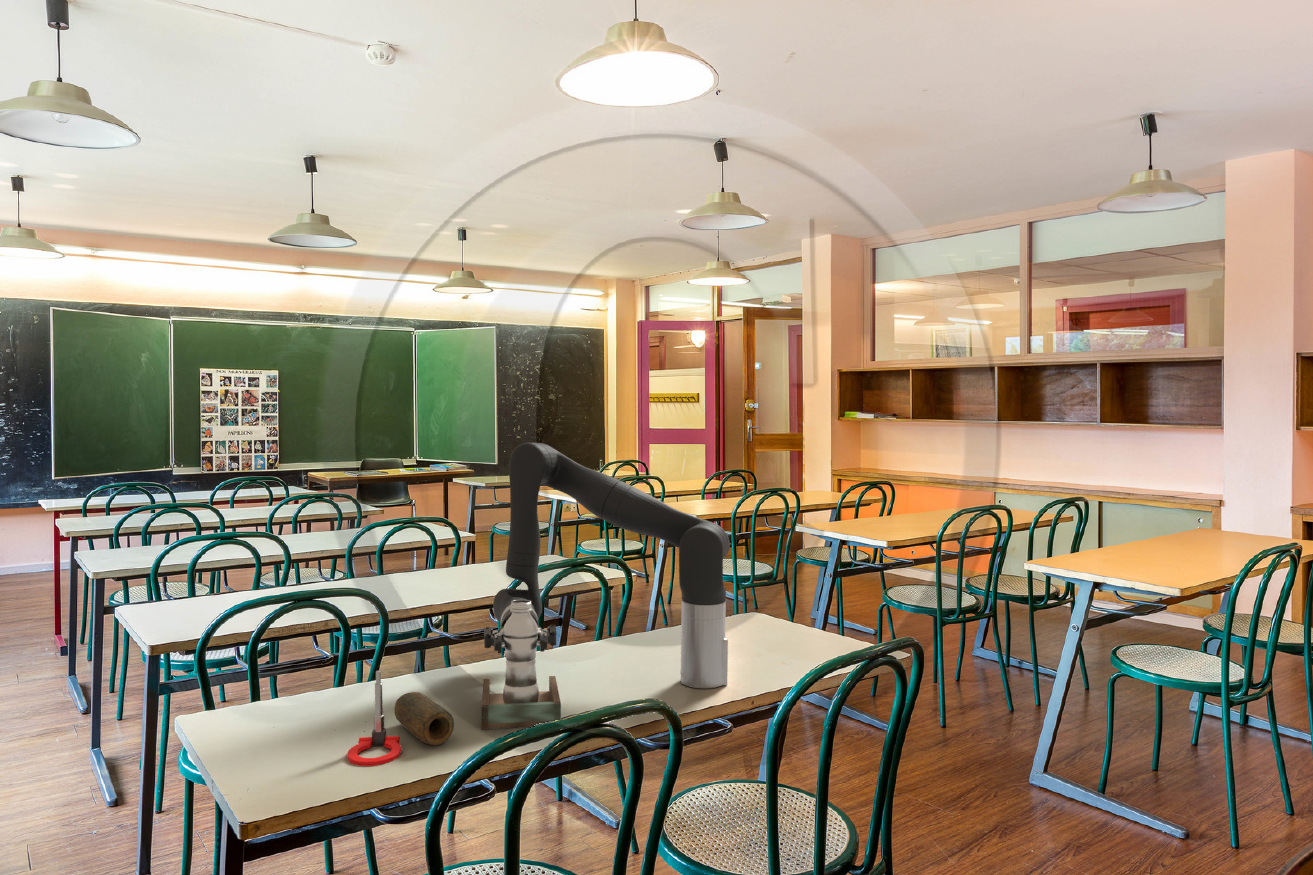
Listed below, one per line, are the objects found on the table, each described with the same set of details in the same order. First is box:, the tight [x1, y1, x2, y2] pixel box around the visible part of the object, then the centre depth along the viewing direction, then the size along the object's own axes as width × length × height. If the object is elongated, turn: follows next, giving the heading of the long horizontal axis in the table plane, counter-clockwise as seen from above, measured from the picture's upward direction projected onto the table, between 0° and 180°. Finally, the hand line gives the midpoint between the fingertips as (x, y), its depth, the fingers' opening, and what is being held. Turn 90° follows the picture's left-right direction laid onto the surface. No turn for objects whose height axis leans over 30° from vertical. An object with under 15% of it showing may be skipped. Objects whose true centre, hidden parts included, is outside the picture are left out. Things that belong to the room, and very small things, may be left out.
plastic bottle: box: [502, 600, 540, 704], centre depth 159 cm, size 6×7×20 cm
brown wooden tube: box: [394, 691, 455, 746], centre depth 149 cm, size 15×7×7 cm, turn 40°
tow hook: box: [346, 670, 402, 767], centre depth 141 cm, size 8×13×9 cm
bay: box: [480, 675, 562, 731], centre depth 161 cm, size 14×16×4 cm
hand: (521, 647), depth 157 cm, fingers open, 7 cm apart
